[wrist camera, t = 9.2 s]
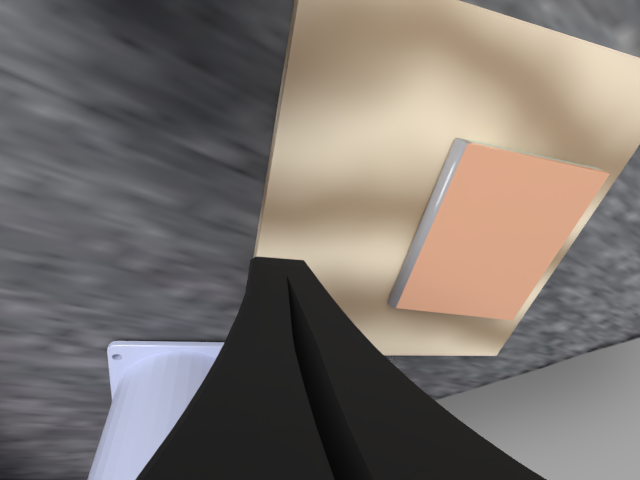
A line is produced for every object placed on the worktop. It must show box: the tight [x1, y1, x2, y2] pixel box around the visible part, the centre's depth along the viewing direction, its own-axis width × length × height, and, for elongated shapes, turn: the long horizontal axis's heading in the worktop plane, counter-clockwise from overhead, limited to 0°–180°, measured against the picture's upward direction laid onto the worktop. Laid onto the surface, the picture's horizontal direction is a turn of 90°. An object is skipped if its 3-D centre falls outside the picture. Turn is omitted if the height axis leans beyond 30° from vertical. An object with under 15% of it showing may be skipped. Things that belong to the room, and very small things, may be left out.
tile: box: [388, 138, 610, 320], centre depth 20 cm, size 10×8×1 cm
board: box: [253, 0, 640, 356], centre depth 20 cm, size 20×19×1 cm
